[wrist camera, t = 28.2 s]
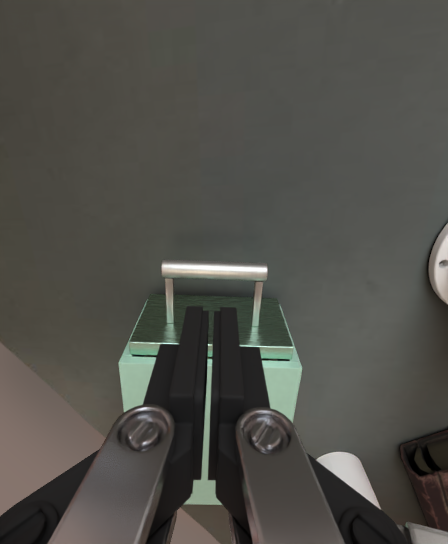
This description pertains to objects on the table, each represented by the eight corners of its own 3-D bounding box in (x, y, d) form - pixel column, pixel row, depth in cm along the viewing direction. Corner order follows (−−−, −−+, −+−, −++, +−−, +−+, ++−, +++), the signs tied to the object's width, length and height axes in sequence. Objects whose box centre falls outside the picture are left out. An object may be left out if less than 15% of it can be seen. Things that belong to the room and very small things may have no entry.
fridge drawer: (147, 239, 28) (122, 274, 21) (283, 244, 28) (304, 281, 21) (156, 411, 37) (141, 478, 29) (262, 413, 37) (272, 480, 30)
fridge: (146, 299, 32) (118, 362, 23) (280, 304, 32) (302, 368, 23) (154, 419, 38) (134, 503, 29) (264, 421, 39) (277, 506, 30)
